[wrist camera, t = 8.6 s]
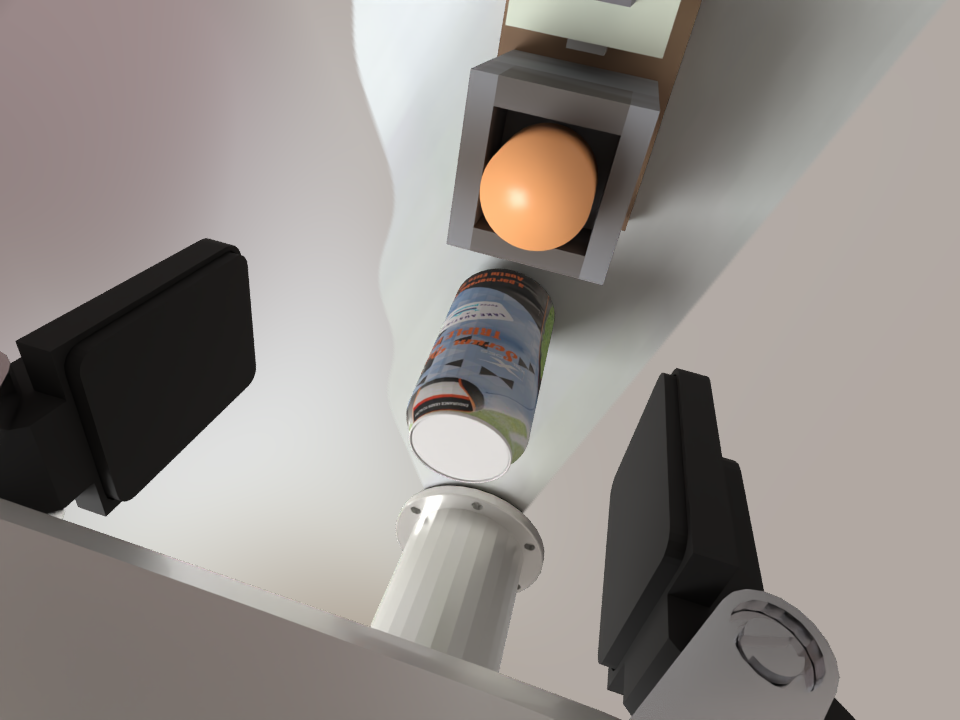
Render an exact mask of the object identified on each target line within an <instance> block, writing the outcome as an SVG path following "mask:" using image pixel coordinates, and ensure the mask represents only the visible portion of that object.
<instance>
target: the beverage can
mask: <svg viewBox="0 0 960 720" xmlns="http://www.w3.org/2000/svg"><path fill="white" fill-rule="evenodd" d="M554 319H555V318H554V307H553V304H552V301H551V299H550V297H549V295H548V294H547V293H546V291H545V290H544V289H543V288H542V287H541V286H540V285H539V284H538V283H537V282H536V281H534V280H533V279H532V278H530V277H528V276H526V275H524V274H522V273H519V272H516V271H512V270H507V269H490V270H485V271H481V272H479V273H476V274H474V275H472V276H471V277H470V278H468V279H467V280H466V281H465V282H464V283H463V284H462V285H461V287H460V288H459V290H458V292H457V294H456V297H455V299H454V301H453V303H452V306H451V308H450V310H449V312H448V315H447V317H446V319H445V321H444V324H443V326H442V328H441V330H440V333H439V335H438V337H437V340H436V342H435V344H434V346H433V349H432V351H431V353H430V355H429V358H428V360H427V362H426V364H425V367H424V369H423V371H422V373H421V376H420V378H419V380H418V382H417V385H416V387H415V389H414V391H413V394H412V396H411V398H410V401H409V403H408V407H407V424H408V428H409V444H410V447H411V449H412V451H413V453H414V454H415V456H416V457H417V458H418V459H419V460H420V461H421V462H422V463H423V464H424V465H425V466H426V467H428V468H429V469H430V470H432V471H434V472H435V473H437V474H439V475H442V476H444V477H446V478H449V479H452V480H456V481H460V482H467V483H483V482H489V481H493V480H495V479H497V478H499V477H501V476H502V475H504V474H505V473H506V472H507V471H508V469H509V467H510V465H511V464H512V463H514V462H515V461H516V460H517V459H518V458H519V457H520V456H521V455H522V454H523V452H524V451H525V449H526V447H527V445H528V441H529V437H530V432H531V427H532V422H533V418H534V413H535V408H536V404H537V399H538V394H539V390H540V385H541V380H542V376H543V371H544V366H545V361H546V357H547V352H548V347H549V343H550V338H551V333H552V329H553V324H554Z"/></svg>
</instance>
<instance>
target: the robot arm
mask: <svg viewBox="0 0 960 720" xmlns="http://www.w3.org/2000/svg"><path fill="white" fill-rule="evenodd" d="M248 277H249V276H248V265H247V260H246V259H245V257H244V256H242V255H241V253H240V251H239V249H238V248H237V247H236V246H233V245H230V244H226V243H222V242H219V241H215V240H211V239H207V238H205V239H202V240H200V241H198V242H196V243H194V244H192V245H190V246H189V247H187V248H185V249H183V250H181V251H180V252H178V253H176V254H174V255H172V256H170V257H169V258H167V259H165V260H163V261H161V262H159V263H158V264H156V265H154V266H152V267H150V268H148V269H147V270H145V271H143V272H141V273H139V274H137V275H136V276H134V277H132V278H130V279H128V280H126V281H125V282H123V283H121V284H119V285H117V286H115V287H114V288H112V289H110V290H108V291H106V292H104V293H103V294H101V295H99V296H97V297H95V298H93V299H92V300H90V301H88V302H86V303H84V304H82V305H81V306H79V307H77V308H75V309H73V310H72V311H70V312H68V313H66V314H64V315H62V316H61V317H59V318H57V319H55V320H53V321H51V322H49V323H48V324H46V325H44V326H42V327H40V328H38V329H37V330H35V331H33V332H31V333H30V334H28V335H26V336H24V337H22V338H20V339H18V340H17V341H16V344H17V347H18V349H19V352H20V354H21V358H19V359H18V360H16V361H14V362H12V363H10V361H9V359H8V357H7V355H5V354H4V353H2V352H0V720H621V719H618V718H616V717H614V716H612V715H609V714H607V713H605V712H602V711H599V710H597V709H594V708H591V707H589V706H586V705H583V704H581V703H578V702H575V701H573V700H570V699H567V698H565V697H562V696H559V695H557V694H554V693H551V692H548V691H546V690H543V689H541V688H538V687H535V686H532V685H530V684H527V683H525V682H521V681H519V680H516V679H513V678H511V677H509V676H506V675H503V674H500V673H499V669H500V664H501V660H502V655H503V650H504V646H505V642H506V638H507V633H508V628H509V624H510V620H511V615H512V611H513V606H514V602H515V597H516V593H517V592H521V591H522V590H524V589H526V588H528V587H529V586H530V585H531V584H533V583H534V582H535V581H536V579H537V578H538V576H539V574H540V573H541V568H542V563H543V560H544V547H543V543H542V539H541V537H540V535H539V533H538V531H537V529H536V528H535V527H534V526H533V524H532V523H531V521H530V520H529V519H528V518H527V517H526V516H525V515H524V514H523V513H521V512H520V511H519V510H518V509H517V508H515V507H514V506H512V505H511V504H509V503H508V502H506V501H504V500H502V499H500V498H498V497H496V496H494V495H492V494H489V493H487V492H484V491H481V490H478V489H473V488H468V487H462V486H439V487H433V488H429V489H425V490H423V491H421V492H419V493H417V494H415V495H413V496H412V497H411V498H410V499H409V500H408V501H407V502H406V503H405V505H404V506H403V508H402V509H401V512H400V514H399V516H398V519H397V521H396V536H397V540H398V543H399V545H400V547H401V549H402V551H403V553H402V555H401V557H400V560H399V562H398V564H397V567H396V569H395V571H394V573H393V576H392V578H391V580H390V582H389V585H388V587H387V589H386V591H385V594H384V596H383V598H382V601H381V603H380V605H379V607H378V610H377V612H376V615H375V616H374V619H373V621H372V623H371V626H370V627H369V626H366V625H363V624H361V623H358V622H355V621H352V620H349V619H346V618H344V617H341V616H338V615H335V614H332V613H330V612H327V611H324V610H321V609H318V608H315V607H313V606H310V605H307V604H304V603H301V602H298V601H295V600H293V599H290V598H287V597H284V596H281V595H278V594H276V593H272V592H270V591H267V590H264V589H261V588H258V587H256V586H253V585H250V584H247V583H244V582H241V581H238V580H236V579H232V578H230V577H227V576H224V575H221V574H218V573H215V572H213V571H210V570H207V569H204V568H201V567H198V566H195V565H193V564H190V563H187V562H184V561H181V560H178V559H175V558H172V557H170V556H167V555H164V554H161V553H158V552H155V551H152V550H150V549H147V548H144V547H141V546H138V545H135V544H132V543H129V542H126V541H124V540H121V539H118V538H115V537H112V536H109V535H106V534H103V533H100V532H97V531H95V530H92V529H89V528H86V527H83V526H80V525H77V524H74V523H71V522H68V521H65V520H63V517H64V514H65V507H67V506H68V505H69V504H70V503H71V502H72V501H73V500H74V499H75V500H76V503H77V505H78V507H80V508H83V509H86V510H89V511H91V512H94V513H97V514H100V515H103V516H107V515H108V514H109V513H110V512H111V511H112V510H113V509H114V508H115V507H116V506H118V505H119V504H120V503H121V502H122V501H128V500H131V499H132V498H133V497H135V496H136V495H137V494H138V493H139V492H140V491H141V490H142V489H143V488H144V487H145V486H146V485H147V484H148V483H149V482H150V481H151V480H152V479H153V478H154V477H155V476H156V475H157V474H158V473H159V472H160V471H161V470H163V469H164V468H165V467H166V466H167V465H168V464H169V463H170V462H171V461H172V460H173V459H174V458H175V457H176V456H177V455H178V454H179V453H180V452H181V451H182V450H183V449H184V448H185V447H186V446H187V445H188V444H189V443H190V442H191V441H192V440H193V439H194V438H195V437H196V436H197V435H198V434H199V433H200V432H201V431H202V430H204V429H205V428H206V427H207V425H209V424H210V423H211V422H212V421H213V420H214V419H215V418H216V417H217V416H218V415H219V414H220V413H221V412H222V411H223V410H224V409H225V408H226V407H227V406H228V405H229V404H230V403H231V402H232V401H233V400H234V399H235V398H236V397H237V396H238V395H239V394H240V393H242V392H243V391H244V390H245V388H247V387H248V386H249V384H250V383H251V382H252V380H253V378H254V375H255V372H256V362H255V349H254V338H253V325H252V313H251V301H250V289H249V278H248ZM598 662H599V664H602V665H604V666H607V667H609V669H608V685H607V689H608V690H610V691H613V692H616V693H619V694H621V695H624V696H623V704H624V706H625V707H626V709H627V710H628V711H629V713H630V714H631V716H632V717H631V718H630V719H629V720H855V719H854V717H853V716H852V715H851V714H850V713H849V712H848V711H847V710H846V709H845V708H844V707H843V706H842V705H841V704H840V703H839V702H838V701H837V700H836V699H835V698H834V697H835V695H836V692H837V687H838V682H839V672H838V667H837V661H836V658H835V656H834V654H833V652H832V650H831V648H830V646H829V644H828V642H827V640H826V639H825V637H824V636H823V635H822V634H821V632H820V631H819V630H818V629H817V627H816V626H815V624H814V623H813V622H812V621H810V620H809V619H808V618H807V617H806V616H805V615H804V614H803V613H802V612H801V611H800V610H798V609H797V608H795V607H794V606H792V605H791V604H789V603H788V602H786V601H784V600H783V599H781V598H779V597H777V596H774V595H772V594H769V593H766V592H764V589H763V583H762V578H761V573H760V568H759V563H758V557H757V552H756V547H755V542H754V537H753V531H752V526H751V521H750V516H749V511H748V505H747V501H746V495H745V490H744V484H743V480H742V474H741V470H740V467H739V464H738V463H736V461H733V460H730V459H727V458H723V457H722V453H721V447H720V440H719V434H718V428H717V421H716V415H715V409H714V403H713V396H712V389H711V383H710V379H709V377H707V376H703V375H700V374H696V373H693V372H689V371H685V370H681V369H678V368H676V369H675V370H674V371H673V373H672V374H671V375H669V374H666V373H661V375H660V376H659V378H658V380H657V382H656V385H655V387H654V389H653V391H652V394H651V396H650V398H649V400H648V403H647V405H646V407H645V410H644V412H643V414H642V416H641V419H640V421H639V423H638V426H637V428H636V430H635V432H634V435H633V437H632V439H631V441H630V444H629V446H628V448H627V451H626V453H625V455H624V457H623V459H622V462H621V464H620V467H619V469H618V471H617V473H616V475H615V478H614V481H613V485H612V489H611V495H610V507H609V520H608V532H607V545H606V559H605V571H604V584H603V596H602V609H601V622H600V635H599V648H598Z"/></svg>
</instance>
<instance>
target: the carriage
mask: <svg viewBox="0 0 960 720" xmlns="http://www.w3.org/2000/svg"><path fill="white" fill-rule="evenodd" d="M680 2H681V0H509V5H508V11H507V17H506V23H505V25H508V26H513V27H518V28H522V29H527V30H532V31H536V32H541V33H546V34H550V35H555V36H559V37H564V38H569V39H573V40H578V41H583V42H587V43H592V44H597V45H601V46H606V47H610V48H615V49H620V50H624V51H629V52H634V53H638V54H643V55H648V56H652V57H657V58H662V59H663V56H664V52H665V49H666V46H667V43H668V40H669V36H670V33H671V30H672V27H673V24H674V21H675V17H676V14H677V11H678V8H679V5H680Z"/></svg>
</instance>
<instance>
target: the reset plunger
mask: <svg viewBox="0 0 960 720" xmlns="http://www.w3.org/2000/svg"><path fill="white" fill-rule="evenodd" d="M597 184H598V167H597V162H596V159H595V156H594V153H593V151H592V149H591V148H590V146H589V145H588V143H587V142H586V141H585V140H584V138H583V137H581V136H580V135H579V134H578V133H577V132H575V131H574V130H572V129H570V128H568V127H566V126H563V125H560V124H555V123H538V124H534V125H530V126H528V127H525V128H523V129H522V130H520V131H518V132H517V133H516V134H514V135H513V136H512V137H511V138H510V139H509V140H508V141H507V142H506V143H505V144H504V146H503V147H502V148H501V149H500V150H499V151H498V152H497V153H496V154H495V155H494V156H493V157H492V159H491V160H490V161H489V163H488V165H487V166H486V168H485V170H484V173H483V176H482V179H481V184H480V202H481V207H482V210H483V213H484V216H485V218H486V220H487V222H488V223H489V225H490V226H491V228H492V229H493V230H494V232H495V233H496V234H497V235H498V236H499V237H501V238H502V239H503V240H504V241H506V242H508V243H509V244H511V245H513V246H515V247H518V248H521V249H524V250H530V251H545V250H550V249H554V248H557V247H559V246H561V245H564V244H565V243H567V242H568V241H570V240H571V239H572V238H574V237H575V236H576V235H577V234H578V233H579V232H580V230H581V229H582V228H583V226H584V225H585V223H586V221H587V219H588V217H589V214H590V211H591V207H592V204H593V200H594V196H595V193H596V189H597Z"/></svg>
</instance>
